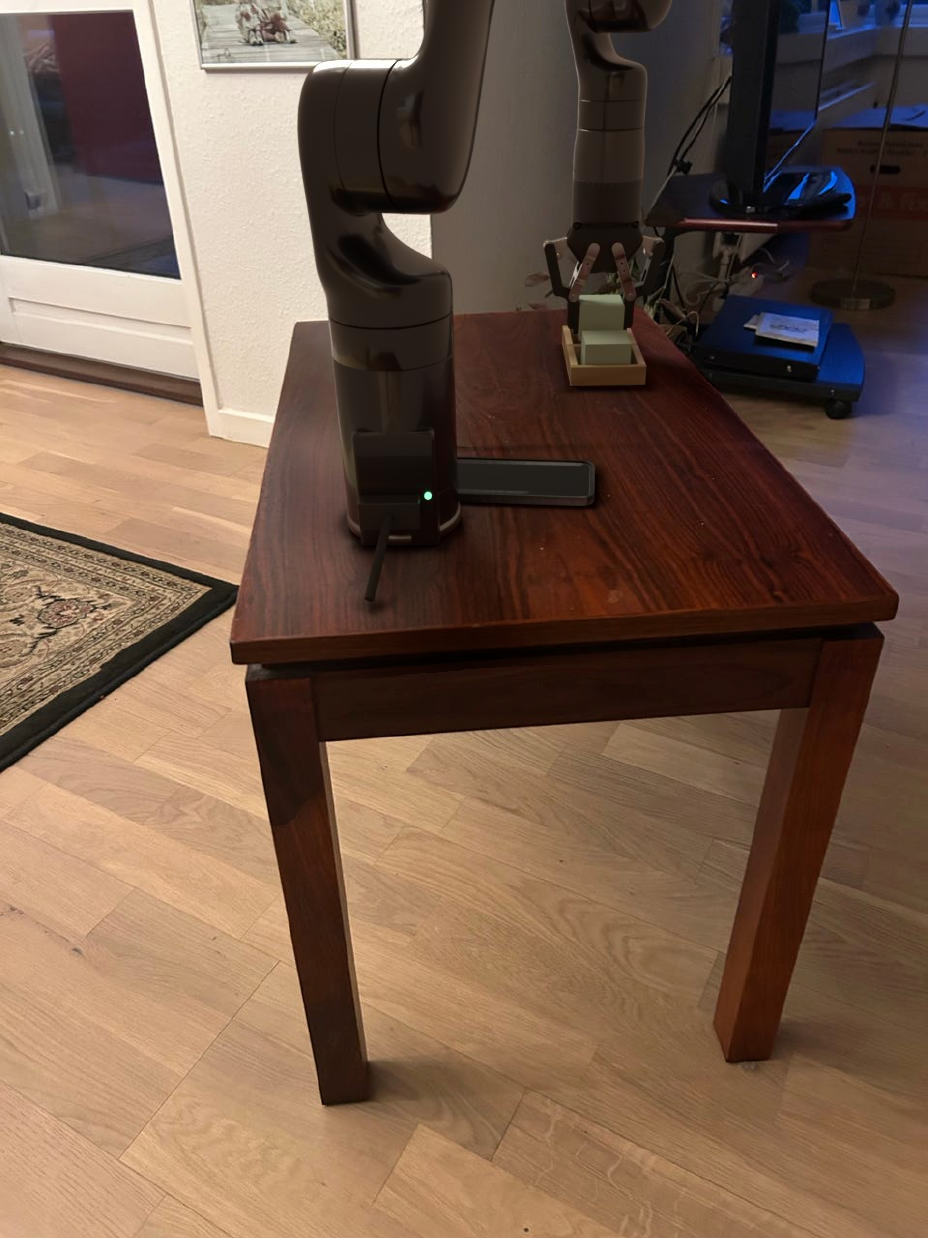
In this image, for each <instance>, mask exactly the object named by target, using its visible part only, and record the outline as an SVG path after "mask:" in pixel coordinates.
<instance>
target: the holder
mask: <svg viewBox="0 0 928 1238" xmlns="http://www.w3.org/2000/svg"><path fill="white" fill-rule="evenodd" d="M627 333H628V336H629V338H630V341H631V343H632V347H631V360H630V364H618V365H580V360H581V342H580V341H579V338H578V334H573V333H572V329H568V326H567V325H562V329H561V346H562V349H563V356H564V360H565V364H566V369H567V374H568V380H569V385H570V387H571V386H572V387H575V386H577V387H579V386H580V387H583V386H585V387H586V386H645V385H646V379H647V378H646V377H647V364H646V362H645V359H644V357H643V355H642V352H641V350H640V348H639V344H638V343H637V340H636V337H635V335H634V333H633V331H632V327H631V328H627Z"/></svg>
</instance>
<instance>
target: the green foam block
mask: <svg viewBox="0 0 928 1238" xmlns="http://www.w3.org/2000/svg"><path fill="white" fill-rule="evenodd" d="M631 347H632V343H631V341H630V338H629V336H628V333H627V331H626V330H597V331H582V338H581V360H580V365H618V364H630V360H631Z"/></svg>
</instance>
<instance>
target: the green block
mask: <svg viewBox="0 0 928 1238" xmlns="http://www.w3.org/2000/svg"><path fill="white" fill-rule="evenodd" d="M621 297H622V296H621V294H580V297H579V300H580V310H579V332H578V338H579V341H580V342H581V338H582V331H597V330H623V326H624V312H625V306H624V303H623V302H622V299H621Z"/></svg>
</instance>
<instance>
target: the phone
mask: <svg viewBox="0 0 928 1238" xmlns="http://www.w3.org/2000/svg"><path fill="white" fill-rule="evenodd" d="M457 460H458V488H459V502H460V503H479V504H515V505H543V506H544V505H545V506H572V507H573V506H576V507H585V506H589V505H592V504H593V503H594V502H595V492H596V490H595V489H596V483H595V482H596V481H595V480H596V465H595V464H594V463H593V462H592V461H589V460H583V459H555V458H554V459H553V458H551V459H550V458H549V459H548V458H519V457H517V458H516V457H483V456H457Z"/></svg>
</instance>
